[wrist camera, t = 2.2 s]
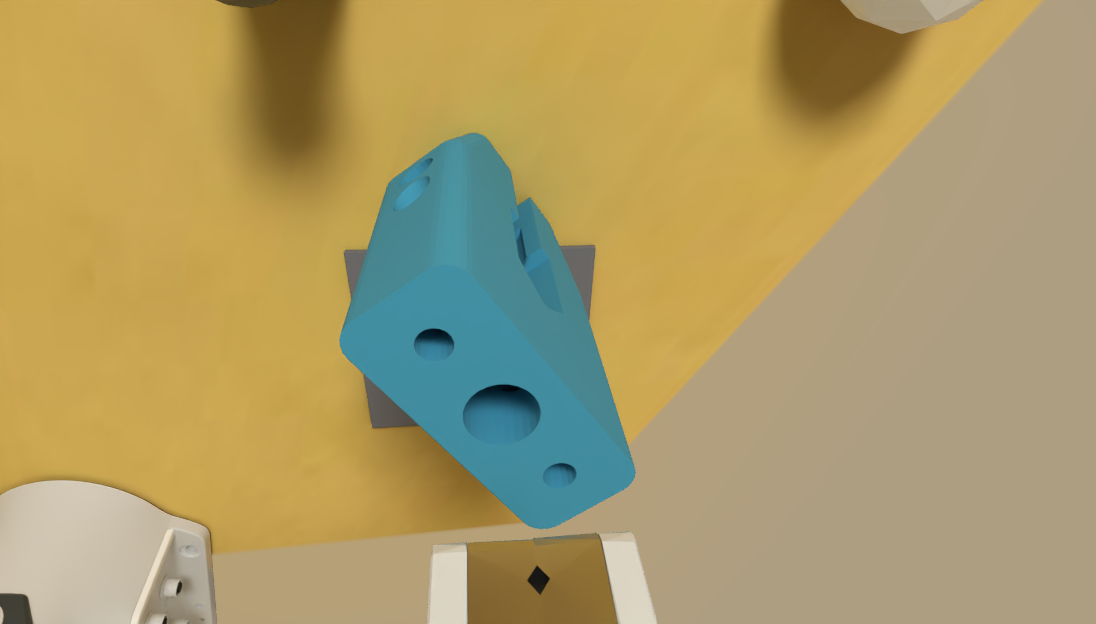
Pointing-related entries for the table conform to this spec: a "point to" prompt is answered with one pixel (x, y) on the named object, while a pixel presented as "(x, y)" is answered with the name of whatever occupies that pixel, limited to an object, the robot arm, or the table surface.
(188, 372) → the table surface
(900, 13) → the white faceted ball
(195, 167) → the table surface
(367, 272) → the block
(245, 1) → the cork
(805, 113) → the table surface
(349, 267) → the mat
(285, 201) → the table surface
